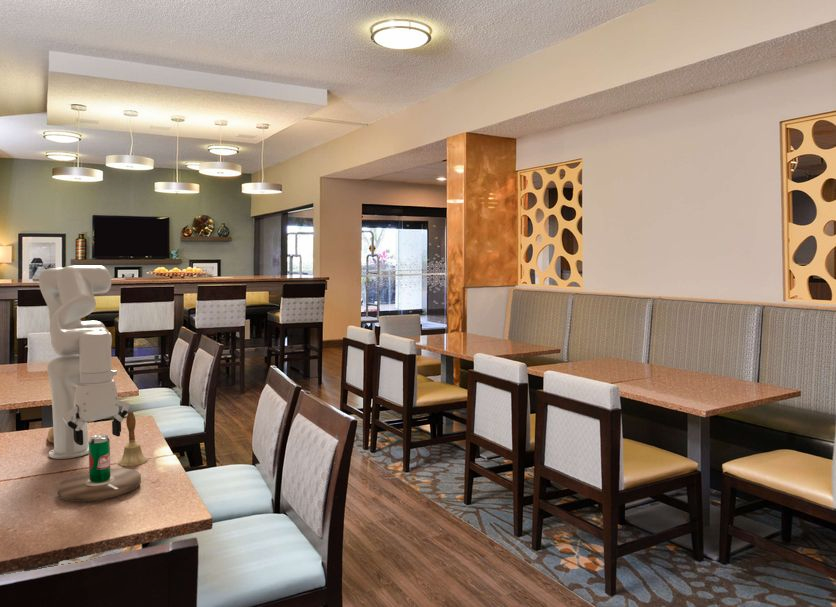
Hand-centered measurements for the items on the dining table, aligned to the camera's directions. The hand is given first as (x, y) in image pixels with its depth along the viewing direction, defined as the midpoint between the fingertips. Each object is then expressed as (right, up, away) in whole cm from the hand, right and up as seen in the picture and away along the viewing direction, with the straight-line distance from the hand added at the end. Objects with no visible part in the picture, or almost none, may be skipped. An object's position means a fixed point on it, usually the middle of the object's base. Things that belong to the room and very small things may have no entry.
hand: (98, 439), depth 163 cm
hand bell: (-2, -13, +24) cm, 27 cm away
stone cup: (-36, -11, +48) cm, 61 cm away
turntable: (0, -13, 0) cm, 13 cm away
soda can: (0, -11, +1) cm, 11 cm away
